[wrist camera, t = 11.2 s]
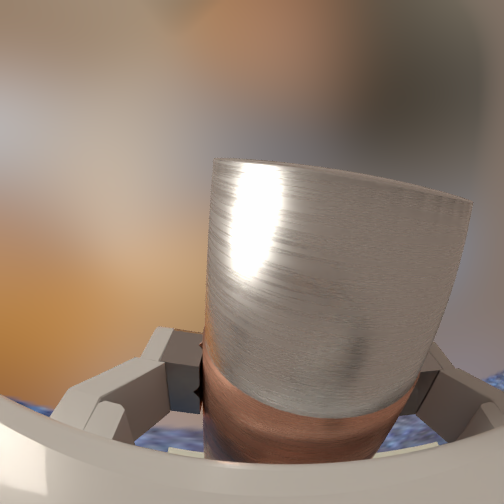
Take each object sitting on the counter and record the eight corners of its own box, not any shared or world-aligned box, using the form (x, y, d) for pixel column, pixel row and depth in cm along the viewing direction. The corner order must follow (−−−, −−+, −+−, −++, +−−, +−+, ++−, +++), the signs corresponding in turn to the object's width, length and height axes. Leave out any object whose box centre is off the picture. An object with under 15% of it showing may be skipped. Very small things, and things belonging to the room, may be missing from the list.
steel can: (199, 544, 8) (176, 160, 3) (213, 453, 13) (227, 157, 9) (330, 545, 8) (530, 221, 3) (318, 458, 13) (403, 181, 9)
